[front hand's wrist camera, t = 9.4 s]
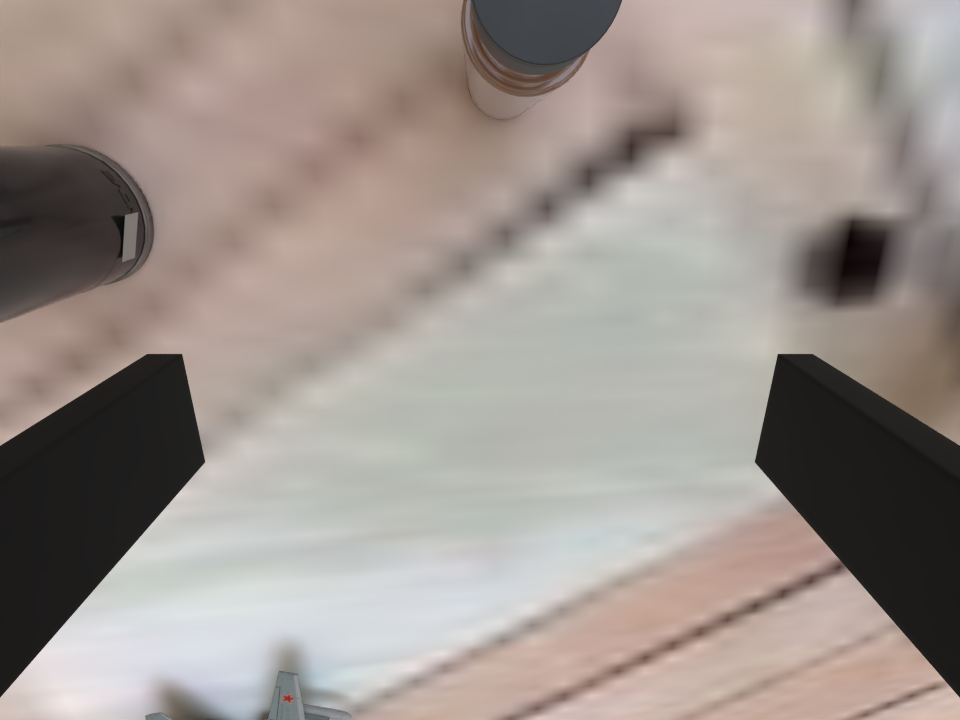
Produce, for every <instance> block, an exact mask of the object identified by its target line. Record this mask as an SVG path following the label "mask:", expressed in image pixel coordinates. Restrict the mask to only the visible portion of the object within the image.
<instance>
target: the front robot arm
mask: <svg viewBox="0 0 960 720" xmlns="http://www.w3.org/2000/svg"><path fill="white" fill-rule="evenodd" d="M204 463H205V459H204V455H203V450H202V445H201V440H200V436H199V431H198V426H197V422H196V417H195V412H194V408H193V403H192V398H191V394H190V389H189V384H188V380H187V375H186V370H185V366H184V361H183V356H182V354H147V355H145V356H143V357H142V358H140V359H139V360H137V361H135V362H134V363H132V364H131V365H129V366H127V367H126V368H124V369H123V370H121V371H119V372H118V373H116V374H115V375H113V376H111V377H110V378H108V379H107V380H105V381H103V382H102V383H100V384H99V385H97V386H95V387H94V388H92V389H91V390H89V391H87V392H86V393H84V394H83V395H81V396H79V397H78V398H76V399H75V400H73V401H71V402H70V403H68V404H67V405H65V406H63V407H62V408H60V409H59V410H57V411H55V412H54V413H52V414H51V415H49V416H47V417H46V418H44V419H43V420H41V421H39V422H38V423H36V424H34V425H33V426H31V427H30V428H28V429H26V430H25V431H23V432H22V433H20V434H18V435H17V436H15V437H14V438H12V439H10V440H9V441H7V442H6V443H4V444H2V445H1V446H0V697H1V696H2V695H3V694H4V692H5V691H6V690H7V689H8V688H9V687H10V686H11V684H12V683H13V682H14V681H15V680H16V679H17V678H18V676H19V675H20V674H21V673H22V672H23V671H24V669H25V668H26V667H27V666H28V665H29V664H30V663H31V661H32V660H33V659H34V658H35V657H36V656H37V655H38V653H39V652H40V651H41V650H42V649H43V648H44V647H45V645H46V644H47V643H48V642H49V641H50V640H51V638H52V637H53V636H54V635H55V634H56V633H57V632H58V630H59V629H60V628H61V627H62V626H63V625H64V624H65V622H66V621H67V620H68V619H69V618H70V617H71V616H72V614H73V613H74V612H75V611H76V610H77V609H78V607H79V606H80V605H81V604H82V603H83V602H84V601H85V599H86V598H87V597H88V596H89V595H90V594H91V593H92V591H93V590H94V589H95V588H96V587H97V586H98V585H99V583H100V582H101V581H102V580H103V579H104V578H105V576H106V575H107V574H108V573H109V572H110V571H111V570H112V568H113V567H114V566H115V565H116V564H117V563H118V562H119V560H120V559H121V558H122V557H123V556H124V555H125V554H126V552H127V551H128V550H129V549H130V548H131V547H132V545H133V544H134V543H135V542H136V541H137V540H138V539H139V537H140V536H141V535H142V534H143V533H144V532H145V531H146V529H147V528H148V527H149V526H150V525H151V524H152V522H153V521H154V520H155V519H156V518H157V517H158V516H159V514H160V513H161V512H162V511H163V510H164V509H165V508H166V506H167V505H168V504H169V503H170V502H171V501H172V500H173V498H174V497H175V496H176V495H177V494H178V493H179V491H180V490H181V489H182V488H183V487H184V486H185V485H186V483H187V482H188V481H189V480H190V479H191V478H192V477H193V475H194V474H195V473H196V472H197V471H198V470H199V469H200V467H201V466H202V465H203V464H204ZM755 463H756V464H757V465H758V466H759V467H760V469H761V470H762V471H763V472H764V473H765V474H766V475H767V477H768V478H769V479H770V480H771V481H772V482H773V483H774V485H775V486H776V487H777V488H778V489H779V490H780V491H781V493H782V494H783V495H784V496H785V497H786V498H787V500H788V501H789V502H790V503H791V504H792V505H793V506H794V508H795V509H796V510H797V511H798V512H799V513H800V514H801V516H802V517H803V518H804V519H805V520H806V521H807V522H808V524H809V525H810V526H811V527H812V528H813V529H814V531H815V532H816V533H817V534H818V535H819V536H820V537H821V539H822V540H823V541H824V542H825V543H826V544H827V545H828V547H829V548H830V549H831V550H832V551H833V552H834V554H835V555H836V556H837V557H838V558H839V559H840V560H841V562H842V563H843V564H844V565H845V566H846V567H847V568H848V570H849V571H850V572H851V573H852V574H853V575H854V576H855V578H856V579H857V580H858V581H859V582H860V583H861V585H862V586H863V587H864V588H865V589H866V590H867V591H868V593H869V594H870V595H871V596H872V597H873V598H874V599H875V601H876V602H877V603H878V604H879V605H880V606H881V607H882V609H883V610H884V611H885V612H886V613H887V614H888V616H889V617H890V618H891V619H892V620H893V621H894V622H895V624H896V625H897V626H898V627H899V628H900V629H901V630H902V632H903V633H904V634H905V635H906V636H907V637H908V638H909V640H910V641H911V642H912V643H913V644H914V645H915V647H916V648H917V649H918V650H919V651H920V652H921V653H922V655H923V656H924V657H925V658H926V659H927V660H928V661H929V663H930V664H931V665H932V666H933V667H934V668H935V669H936V671H937V672H938V673H939V674H940V675H941V676H942V678H943V679H944V680H945V681H946V682H947V683H948V684H949V686H950V687H951V688H952V689H953V690H954V691H955V692H956V694H957V695H958V696H959V697H960V446H959V445H958V444H956V443H954V442H953V441H951V440H950V439H948V438H946V437H945V436H943V435H942V434H940V433H938V432H937V431H935V430H934V429H932V428H930V427H929V426H927V425H926V424H924V423H922V422H921V421H919V420H917V419H916V418H914V417H913V416H911V415H909V414H908V413H906V412H905V411H903V410H901V409H900V408H898V407H897V406H895V405H893V404H892V403H890V402H889V401H887V400H885V399H884V398H882V397H881V396H879V395H877V394H876V393H874V392H873V391H871V390H869V389H868V388H866V387H865V386H863V385H861V384H860V383H858V382H857V381H855V380H853V379H852V378H850V377H849V376H847V375H845V374H844V373H842V372H841V371H839V370H837V369H836V368H834V367H833V366H831V365H829V364H828V363H826V362H825V361H823V360H821V359H820V358H818V357H817V356H815V355H813V354H778V356H777V361H776V366H775V370H774V375H773V380H772V384H771V389H770V394H769V398H768V403H767V408H766V412H765V417H764V422H763V426H762V431H761V436H760V440H759V445H758V450H757V455H756V459H755Z"/></svg>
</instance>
